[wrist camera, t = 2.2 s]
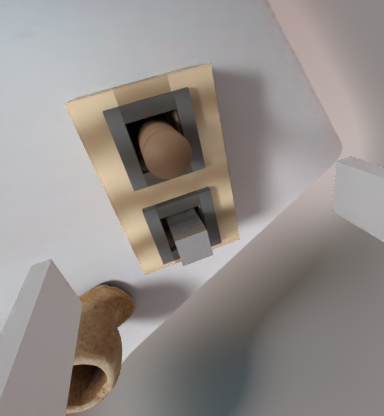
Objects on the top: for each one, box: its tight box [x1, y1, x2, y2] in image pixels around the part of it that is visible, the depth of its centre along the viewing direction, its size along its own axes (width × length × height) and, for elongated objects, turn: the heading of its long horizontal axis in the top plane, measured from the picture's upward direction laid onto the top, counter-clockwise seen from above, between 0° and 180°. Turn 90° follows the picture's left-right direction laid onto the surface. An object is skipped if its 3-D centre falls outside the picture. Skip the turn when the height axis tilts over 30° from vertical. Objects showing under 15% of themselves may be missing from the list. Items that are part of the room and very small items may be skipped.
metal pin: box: [166, 208, 213, 266], centre depth 30 cm, size 4×4×9 cm
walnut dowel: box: [136, 117, 192, 179], centre depth 24 cm, size 4×4×9 cm
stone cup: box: [66, 285, 135, 413], centre depth 37 cm, size 15×12×15 cm
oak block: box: [64, 63, 240, 275], centre depth 31 cm, size 22×14×9 cm, turn 13°
